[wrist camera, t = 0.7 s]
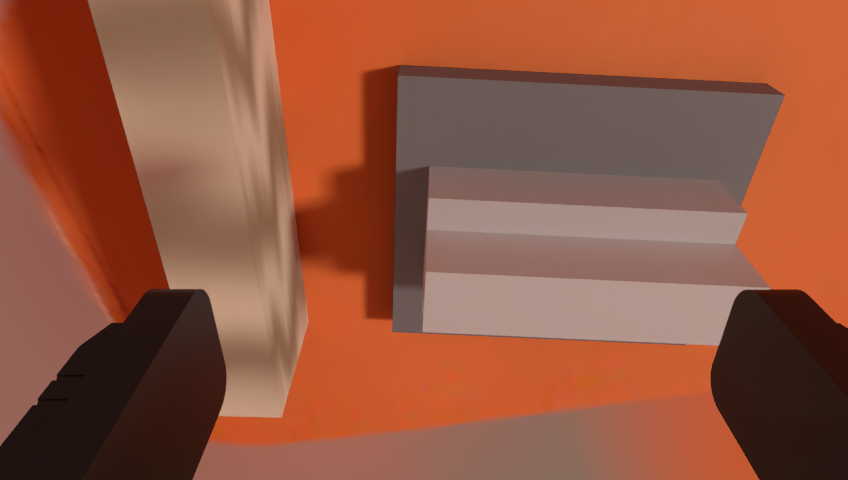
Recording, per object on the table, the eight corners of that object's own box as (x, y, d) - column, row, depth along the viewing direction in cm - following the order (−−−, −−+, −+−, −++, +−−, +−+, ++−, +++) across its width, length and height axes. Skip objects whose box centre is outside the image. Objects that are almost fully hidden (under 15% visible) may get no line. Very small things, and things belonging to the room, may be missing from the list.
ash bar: (167, -78, 22) (70, -60, 16) (260, -76, 22) (197, -57, 16) (246, 318, 33) (205, 415, 27) (309, 320, 33) (281, 417, 27)
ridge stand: (399, 65, 25) (387, 131, 18) (766, 83, 25) (880, 155, 18) (394, 313, 32) (384, 421, 26) (675, 326, 32) (733, 436, 26)
